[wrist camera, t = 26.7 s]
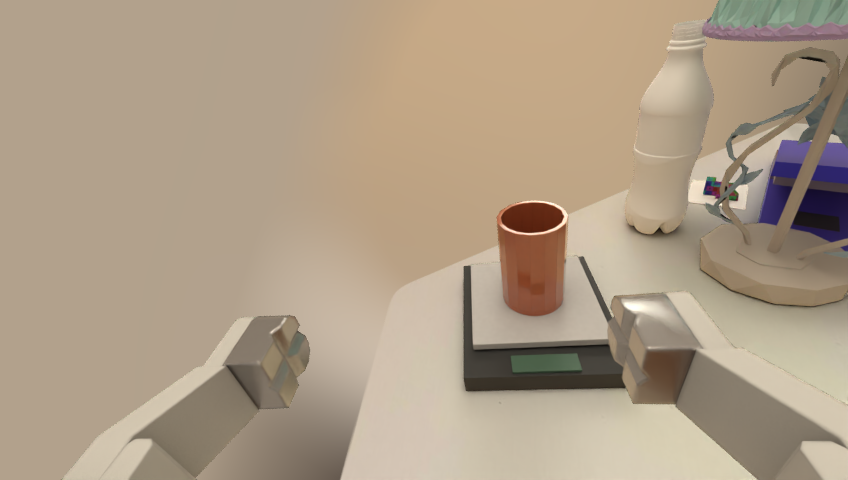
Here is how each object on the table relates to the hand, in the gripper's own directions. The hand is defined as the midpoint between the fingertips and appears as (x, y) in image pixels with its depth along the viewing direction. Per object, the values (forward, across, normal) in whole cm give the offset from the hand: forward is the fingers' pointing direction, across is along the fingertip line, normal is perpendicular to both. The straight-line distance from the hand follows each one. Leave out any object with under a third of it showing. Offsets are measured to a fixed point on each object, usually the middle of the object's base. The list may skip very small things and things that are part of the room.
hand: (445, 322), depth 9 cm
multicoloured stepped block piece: (+46, -37, +24) cm, 64 cm away
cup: (+23, -6, +21) cm, 32 cm away
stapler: (+40, -46, +24) cm, 65 cm away
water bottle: (+39, -25, +24) cm, 53 cm away
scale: (+22, -6, +24) cm, 33 cm away
